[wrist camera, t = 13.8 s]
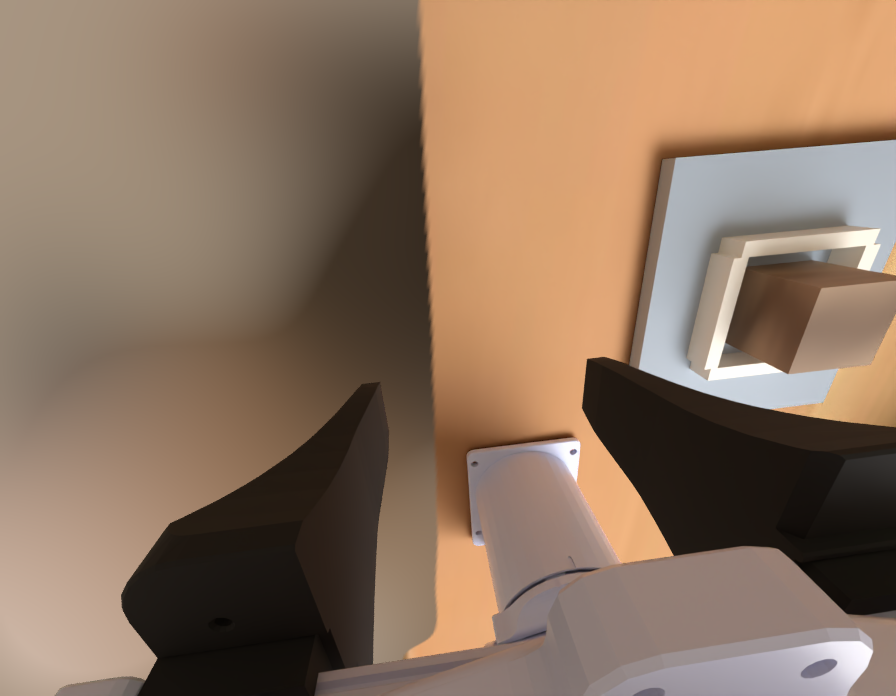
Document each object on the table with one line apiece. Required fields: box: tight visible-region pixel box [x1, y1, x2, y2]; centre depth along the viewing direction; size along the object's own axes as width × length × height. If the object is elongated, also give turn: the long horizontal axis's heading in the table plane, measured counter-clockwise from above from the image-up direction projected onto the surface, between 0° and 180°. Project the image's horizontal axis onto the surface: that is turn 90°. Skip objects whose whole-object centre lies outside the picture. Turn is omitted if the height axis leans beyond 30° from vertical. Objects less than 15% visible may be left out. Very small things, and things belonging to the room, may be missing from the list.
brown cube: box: [725, 260, 896, 374], centre depth 19 cm, size 4×4×4 cm
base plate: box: [629, 140, 896, 409], centre depth 20 cm, size 16×14×2 cm
